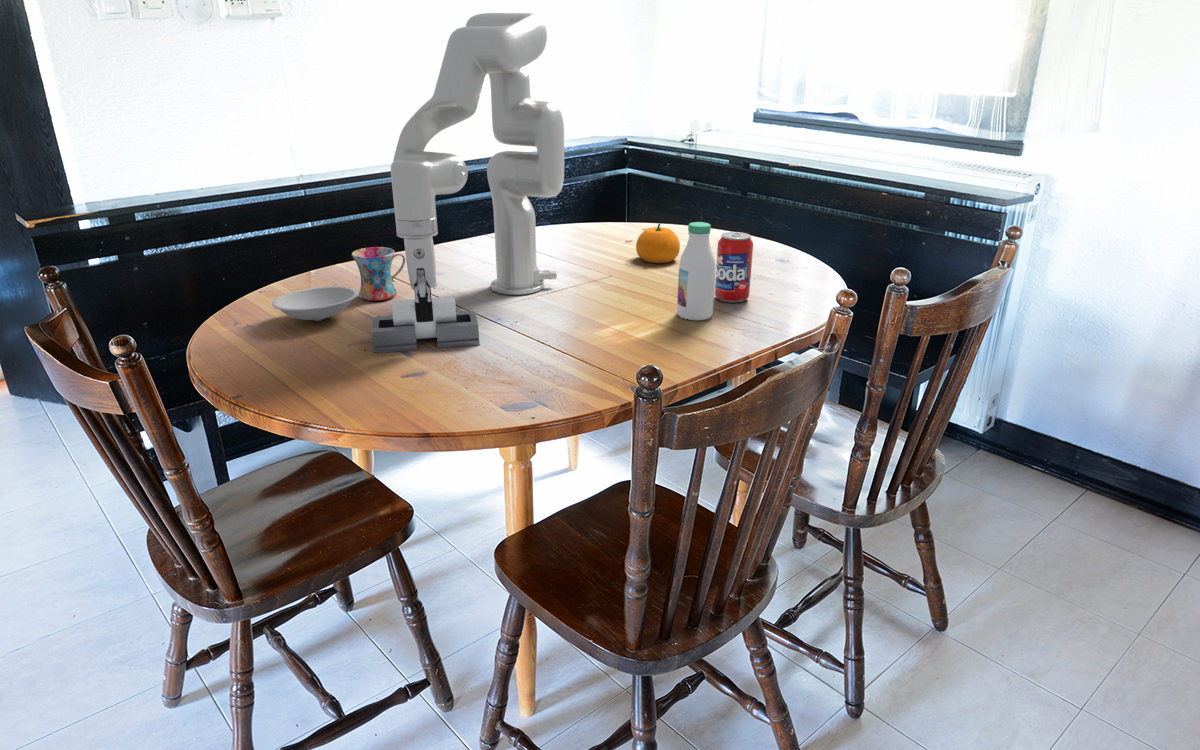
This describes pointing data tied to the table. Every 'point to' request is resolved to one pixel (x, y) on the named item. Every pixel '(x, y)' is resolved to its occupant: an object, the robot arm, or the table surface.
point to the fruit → (658, 245)
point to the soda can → (733, 267)
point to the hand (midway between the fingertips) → (424, 313)
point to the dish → (315, 302)
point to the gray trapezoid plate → (407, 317)
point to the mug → (376, 272)
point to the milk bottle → (696, 275)
